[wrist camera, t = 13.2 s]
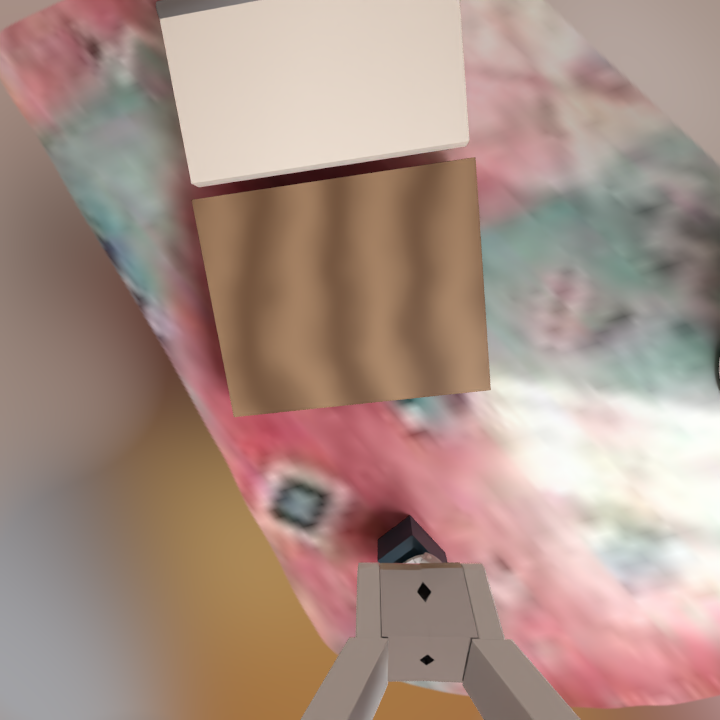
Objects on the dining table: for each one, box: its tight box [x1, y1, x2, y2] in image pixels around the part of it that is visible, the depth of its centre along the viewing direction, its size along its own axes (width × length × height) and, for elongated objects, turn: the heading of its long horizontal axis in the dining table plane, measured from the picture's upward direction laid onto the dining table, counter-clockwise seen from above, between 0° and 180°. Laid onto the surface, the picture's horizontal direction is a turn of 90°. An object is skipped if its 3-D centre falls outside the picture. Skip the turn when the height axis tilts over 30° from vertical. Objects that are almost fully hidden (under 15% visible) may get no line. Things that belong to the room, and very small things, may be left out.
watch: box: [378, 516, 447, 563], centre depth 35 cm, size 6×8×11 cm
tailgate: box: [156, 0, 469, 187], centre depth 28 cm, size 21×2×12 cm
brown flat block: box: [192, 157, 491, 417], centre depth 33 cm, size 22×18×4 cm
